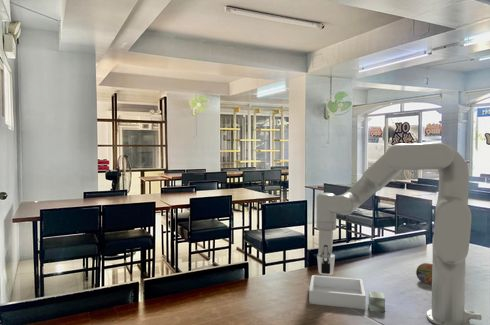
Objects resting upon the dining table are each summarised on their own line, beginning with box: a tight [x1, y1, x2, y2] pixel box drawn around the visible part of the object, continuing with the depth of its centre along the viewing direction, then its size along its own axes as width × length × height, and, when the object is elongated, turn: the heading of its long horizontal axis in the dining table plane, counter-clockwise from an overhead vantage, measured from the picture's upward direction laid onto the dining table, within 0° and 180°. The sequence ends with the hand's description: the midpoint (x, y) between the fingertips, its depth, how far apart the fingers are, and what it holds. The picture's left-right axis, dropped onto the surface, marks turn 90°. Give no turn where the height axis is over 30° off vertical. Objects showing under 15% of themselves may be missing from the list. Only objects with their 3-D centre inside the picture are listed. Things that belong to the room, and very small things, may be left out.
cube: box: [368, 291, 386, 313], centre depth 125 cm, size 5×5×5 cm
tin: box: [415, 262, 432, 285], centre depth 147 cm, size 15×3×8 cm, turn 62°
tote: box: [308, 274, 367, 310], centre depth 135 cm, size 20×16×5 cm
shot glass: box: [316, 252, 336, 276], centre depth 135 cm, size 7×7×7 cm
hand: (325, 269), depth 135 cm, fingers closed on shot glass, 6 cm apart
